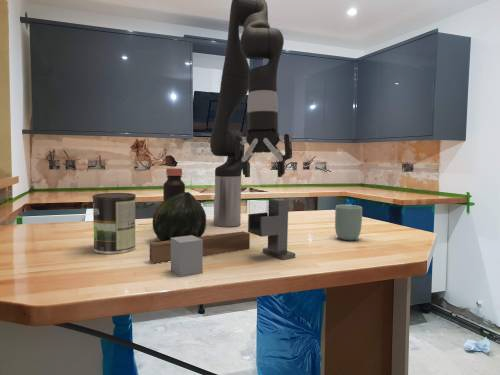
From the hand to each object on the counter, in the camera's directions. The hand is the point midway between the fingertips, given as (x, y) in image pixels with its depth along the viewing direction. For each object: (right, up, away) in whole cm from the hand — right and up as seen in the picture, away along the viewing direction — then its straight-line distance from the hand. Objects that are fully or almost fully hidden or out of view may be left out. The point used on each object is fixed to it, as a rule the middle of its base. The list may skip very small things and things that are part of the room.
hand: (263, 177), depth 91 cm
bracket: (+2, -20, -1) cm, 20 cm away
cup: (+26, -18, +19) cm, 37 cm away
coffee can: (-38, -19, +3) cm, 43 cm away
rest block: (-17, -20, -14) cm, 30 cm away
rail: (-15, -20, -1) cm, 25 cm away
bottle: (-28, -17, +27) cm, 42 cm away
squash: (-23, -18, +13) cm, 32 cm away
